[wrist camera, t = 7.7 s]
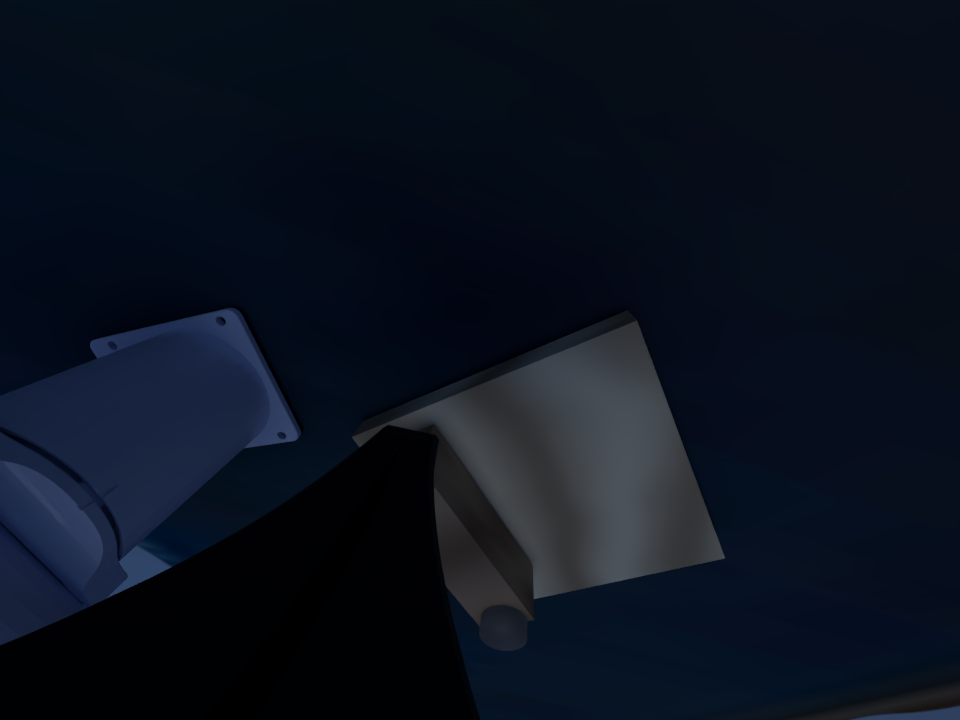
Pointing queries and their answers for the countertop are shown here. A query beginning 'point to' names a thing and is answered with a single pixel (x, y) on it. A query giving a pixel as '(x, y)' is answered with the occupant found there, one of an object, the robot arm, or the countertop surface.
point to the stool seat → (575, 458)
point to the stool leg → (480, 555)
